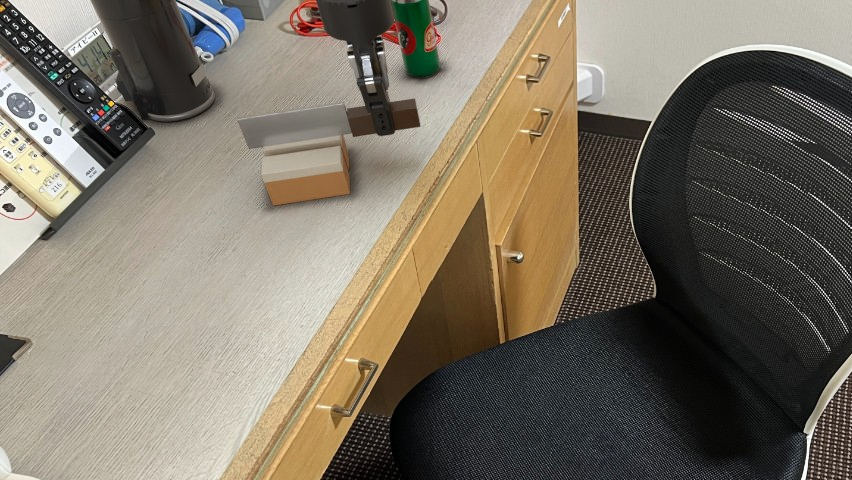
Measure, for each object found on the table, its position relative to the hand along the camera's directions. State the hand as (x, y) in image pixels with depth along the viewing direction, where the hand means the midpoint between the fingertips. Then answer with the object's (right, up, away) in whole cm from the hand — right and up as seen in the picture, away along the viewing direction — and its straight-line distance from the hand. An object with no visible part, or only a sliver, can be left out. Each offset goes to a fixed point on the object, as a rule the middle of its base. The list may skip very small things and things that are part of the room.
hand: (385, 126), depth 98 cm
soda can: (0, +13, +20) cm, 24 cm away
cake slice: (-9, -8, +1) cm, 12 cm away
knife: (-6, -1, -1) cm, 6 cm away
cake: (-10, -4, +4) cm, 12 cm away
